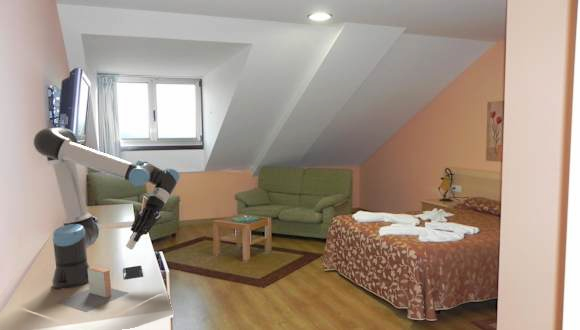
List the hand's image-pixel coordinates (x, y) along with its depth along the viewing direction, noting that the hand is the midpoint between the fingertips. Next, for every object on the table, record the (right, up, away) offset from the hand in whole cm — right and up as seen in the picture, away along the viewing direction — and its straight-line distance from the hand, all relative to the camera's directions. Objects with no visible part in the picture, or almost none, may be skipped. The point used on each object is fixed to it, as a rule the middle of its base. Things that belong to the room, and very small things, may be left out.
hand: (129, 247), depth 173 cm
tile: (-7, -16, -11) cm, 20 cm away
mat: (-8, -17, -13) cm, 23 cm away
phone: (-3, -14, +12) cm, 19 cm away
